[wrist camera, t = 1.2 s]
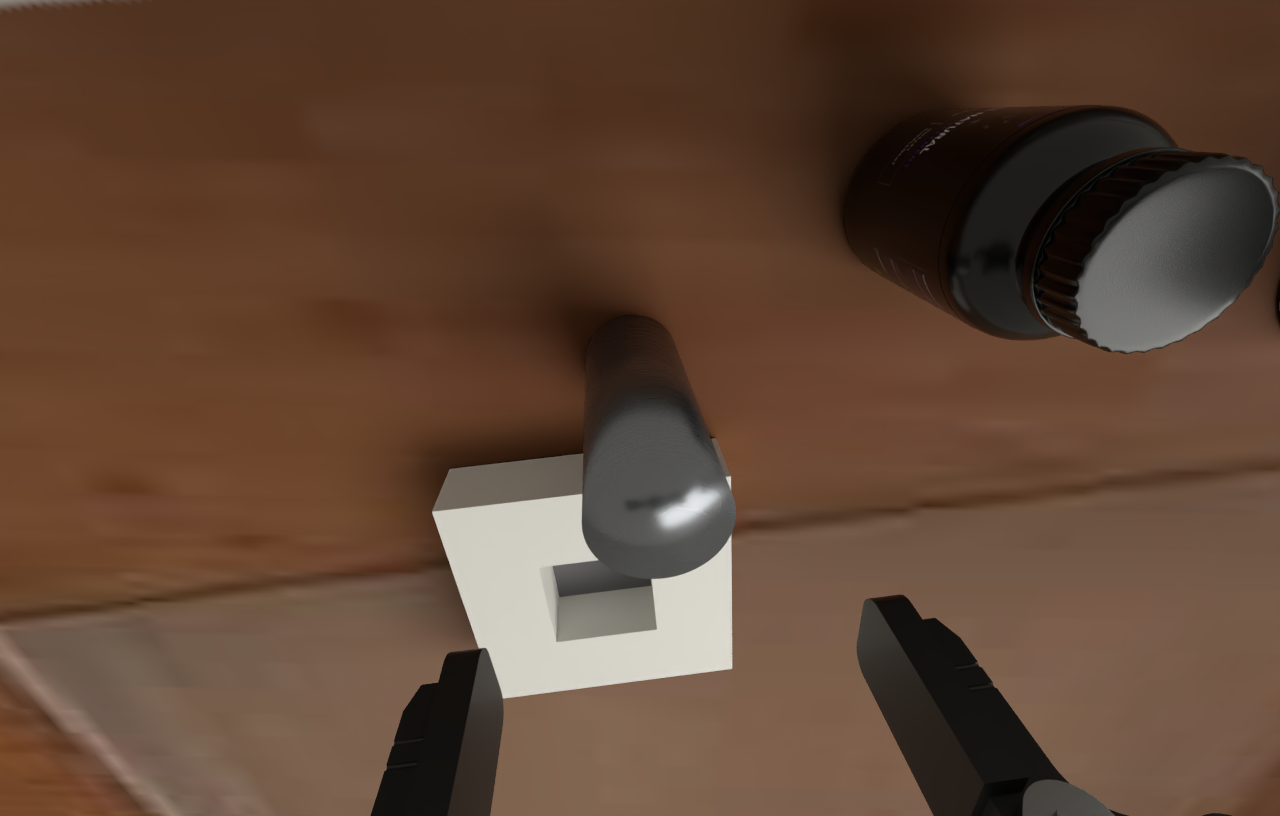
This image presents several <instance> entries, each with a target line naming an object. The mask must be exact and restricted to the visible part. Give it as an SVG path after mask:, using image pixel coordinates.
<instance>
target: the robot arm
mask: <svg viewBox="0 0 1280 816" xmlns="http://www.w3.org/2000/svg"><path fill="white" fill-rule="evenodd" d="M1279 309H1280V303H1279ZM857 656H858V661H859V665H860V668H861V671H862V673H863V676H864V678H865V680H866V682H867V684H868V686H869V688H870V690H871V692H872V694H873V696H874V698H875V700H876V702H877V704H878V706H879V708H880V710H881V712H882V714H883V716H884V718H885V720H886V722H887V724H888V726H889V728H890V730H891V732H892V734H893V736H894V738H895V740H896V742H897V744H898V746H899V748H900V750H901V752H902V754H903V756H904V758H905V759H906V761H907V763H908V765H909V767H910V769H911V771H912V773H913V775H914V777H915V779H916V781H917V783H918V785H919V787H920V789H921V791H922V793H923V795H924V797H925V799H926V801H927V803H928V805H929V807H930V809H931V811H932V813H933V815H934V816H1127V815H1124V814H1120V813H1117V812H1115V811H1112V810H1109V809H1108V808H1107V807H1106V806H1105V805H1104V804H1103V803H1101V802H1100V801H1099V800H1097V799H1096V798H1095V797H1094V796H1092V795H1091V794H1089V793H1087V792H1086V791H1084V790H1082V789H1080V788H1078V787H1076V786H1074V785H1072V784H1070V783H1068V782H1067V781H1066V780H1065V779H1064V777H1063V776H1062V775H1061V774H1060V773H1059V772H1058V771H1057V770H1056V768H1055V767H1054V766H1053V765H1052V763H1051V762H1050V760H1049V759H1048V758H1047V756H1046V755H1045V754H1044V752H1043V751H1042V749H1041V748H1040V747H1039V745H1038V744H1037V743H1036V741H1035V740H1034V738H1033V737H1032V736H1031V734H1030V733H1029V732H1028V730H1027V729H1026V727H1025V726H1024V725H1023V723H1022V722H1021V721H1020V719H1019V718H1018V716H1017V715H1016V714H1015V712H1014V711H1013V710H1012V708H1011V707H1010V705H1009V704H1008V703H1007V701H1006V700H1005V699H1004V697H1003V696H1002V694H1001V693H1000V692H999V690H998V689H997V688H994V686H993V682H992V681H991V679H990V678H989V677H988V675H987V674H986V673H985V671H984V670H983V668H982V667H979V665H978V662H977V660H976V659H975V657H974V656H973V655H972V653H971V652H970V651H969V649H968V648H967V646H966V645H965V644H964V642H963V641H962V640H961V638H960V637H959V636H957V635H956V634H955V633H954V632H952V631H951V630H950V629H948V628H947V627H946V626H945V625H943V624H942V623H941V622H940V621H938V620H937V619H936V618H931V619H924V620H922V618H921V617H920V615H919V614H918V612H917V611H916V609H915V608H914V606H913V605H912V603H911V602H910V601H909V600H908V599H907V597H905V596H904V595H893V596H886V597H878V598H870V599H866V600H865V602H864V605H863V611H862V617H861V623H860V629H859V635H858V641H857ZM502 726H503V697H502V692H501V689H500V686H499V683H498V679H497V676H496V673H495V670H494V667H493V664H492V661H491V658H490V655H489V652H488V650H487V649H486V648H479V649H471V650H464V651H456V652H450V653H448V654H447V656H446V658H445V660H444V663H443V667H442V671H441V675H440V678H439V682H438V683H432V684H425V685H421V686H420V688H419V689H418V691H417V692H416V694H415V695H414V697H413V698H412V699H411V701H410V702H409V704H408V705H407V707H406V708H405V710H404V711H403V714H402V717H401V720H400V723H399V727H398V730H397V733H396V736H395V739H394V746H392V749H391V752H390V755H389V759H388V762H387V770H386V771H384V775H383V778H382V781H381V784H380V787H379V791H378V794H377V797H376V800H375V803H374V807H373V810H372V813H371V816H490V812H491V805H492V798H493V791H494V784H495V776H496V769H497V762H498V755H499V748H500V741H501V734H502ZM1203 816H1231V815H1226V814H1219V813H1211V814H1206V815H1203Z"/></svg>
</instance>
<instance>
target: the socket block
mask: <svg viewBox="0 0 1280 816" xmlns="http://www.w3.org/2000/svg"><path fill="white" fill-rule="evenodd" d="M711 440H712V443H713V445H714V448H715V450H716V453H717V456H718V458H719V461H720V463H721V466H722V469H723V471H724V474H725V477H726V479H727V482H728V484H729V487H730V490H731V476H730V473H729V470H728V468H727V465H726V463H725V460H724V458H723V455H722V453H721V450H720V448H719V445H718V443H717V440H716V438H711ZM582 487H583V453H582V454H574V455H565V456H557V457H548V458H540V459H531V460H522V461H514V462H505V463H497V464H488V465H479V466H471V467H462V468H454V469H449V472H448V474H447V477H446V479H445V481H444V484H443V486H442V489H441V491H440V493H439V496H438V498H437V501H436V503H435V506H434V508H433V510H432V514H433V517H434V519H435V522H436V525H437V528H438V531H439V534H440V537H441V540H442V543H443V546H444V548H445V551H446V554H447V557H448V560H449V563H450V566H451V569H452V572H453V575H454V578H455V580H456V583H457V586H458V589H459V592H460V595H461V598H462V601H463V604H464V607H465V610H466V612H467V615H468V618H469V621H470V624H471V627H472V630H473V633H474V636H475V639H476V642H477V644H478V647H479V648H486V649H487V650H488V652H489V655H490V658H491V661H492V664H493V667H494V670H495V673H496V676H497V679H498V683H499V686H500V689H501V692H502V697H503V698H510V697H518V696H526V695H533V694H541V693H549V692H556V691H564V690H572V689H580V688H587V687H595V686H603V685H610V684H618V683H626V682H634V681H641V680H649V679H657V678H664V677H672V676H680V675H688V674H695V673H703V672H711V671H718V670H726V669H732V574H731V536H730V538H729V539H728V541H727V543H726V544H725V545H724V547H723V548H722V549H721V550H720V551H719V552H718V553H717V554H716V555H715V556H714V557H713V558H712V559H711V560H709V561H708V562H707V563H705V564H703V565H702V566H700V567H698V568H696V569H694V570H692V571H690V572H687V573H685V574H682V575H678V576H674V577H669V578H662V579H643V578H636V577H631V576H627V575H624V574H621V573H619V572H616V571H614V570H612V569H610V568H609V567H607V566H606V565H604V564H603V563H602V562H601V561H599V560H598V559H597V558H596V557H595V556H594V555H593V553H592V552H591V551H590V549H589V548H588V546H587V544H586V541H585V539H584V536H583V532H582Z"/></svg>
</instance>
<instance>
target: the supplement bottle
mask: <svg viewBox="0 0 1280 816" xmlns="http://www.w3.org/2000/svg"><path fill="white" fill-rule="evenodd" d="M1278 196H1279V192H1278V191H1277V190H1276V189H1275V188H1273V178H1272V177H1270V176H1267V175H1265V173H1264V170H1263V167H1262V166H1260V165H1256V164H1251V162H1250V161H1249V160H1248V159H1247V158H1244V157H1238V156H1230V155H1227V154H1223V153H1210V152H1193V151H1190V150H1186V149H1181V148H1178V146H1177V144H1176V143H1175V141H1174V140H1173V138H1172V137H1171V136H1170V135H1169V133H1168V132H1167V131H1166V130H1165V129H1164V128H1163V127H1162V126H1160V125H1159V124H1158V123H1157V122H1156V121H1154V120H1153V119H1151V118H1149V117H1148V116H1146V115H1144V114H1142V113H1139V112H1137V111H1134V110H1131V109H1127V108H1123V107H1116V106H1102V105H1075V106H1039V107H1003V108H968V109H947V110H937V111H931V112H927V113H923V114H920V115H917V116H914V117H912V118H909V119H907V120H905V121H904V122H902V123H900V124H898V125H897V126H895V127H894V128H892V129H891V130H890V131H888V132H887V133H886V134H885V135H883V136H882V137H881V138H880V139H879V140H878V141H877V142H876V143H875V144H874V145H873V146H872V148H871V149H870V150H869V151H868V152H867V154H866V155H865V156H864V158H863V159H862V161H861V163H860V164H859V166H858V168H857V170H856V171H855V174H854V176H853V178H852V180H851V183H850V186H849V189H848V193H847V197H846V203H845V228H846V232H847V236H848V239H849V242H850V244H851V247H852V249H853V250H854V252H855V254H856V255H857V257H858V258H859V259H860V260H861V261H862V262H863V263H864V264H865V265H866V266H867V267H869V268H870V269H871V270H872V271H874V272H876V273H877V274H879V275H881V276H882V277H884V278H886V279H887V280H889V281H891V282H893V283H894V284H896V285H898V286H900V287H902V288H903V289H905V290H907V291H909V292H911V293H912V294H914V295H916V296H918V297H919V298H921V299H923V300H925V301H927V302H928V303H930V304H932V305H934V306H935V307H937V308H939V309H941V310H943V311H944V312H946V313H948V314H950V315H952V316H953V317H955V318H957V319H959V320H961V321H962V322H964V323H966V324H968V325H969V326H971V327H973V328H975V329H978V330H980V331H982V332H984V333H986V334H989V335H991V336H995V337H998V338H1003V339H1009V340H1039V339H1046V338H1051V337H1056V336H1060V335H1063V336H1066V337H1069V338H1073V339H1078V340H1080V341H1082V342H1084V343H1087V344H1089V345H1091V346H1095V347H1097V348H1100V349H1102V350H1104V351H1107V352H1120V353H1123V354H1130V353H1133V352H1141V353H1145V352H1148V351H1150V350H1152V349H1161V348H1164V347H1166V346H1168V345H1169V344H1171V343H1174V342H1179V341H1182V340H1183V339H1184V338H1186V337H1187V336H1188V335H1190V334H1192V333H1195V332H1198V331H1200V330H1201V329H1202V328H1203V327H1204V326H1205V325H1206V324H1208V323H1209V322H1211V321H1213V320H1215V319H1216V318H1218V317H1219V316H1220V315H1221V313H1222V312H1223V311H1224V310H1225V309H1226V308H1227V307H1229V306H1230V305H1232V304H1233V303H1234V302H1235V301H1236V300H1237V298H1238V296H1239V295H1240V293H1241V292H1243V291H1244V290H1245V289H1246V288H1247V287H1248V286H1249V285H1250V283H1251V281H1252V279H1253V277H1254V275H1255V274H1256V273H1257V272H1258V271H1259V270H1260V269H1261V268H1262V266H1263V263H1264V260H1265V257H1266V255H1267V254H1268V253H1269V251H1270V250H1271V248H1272V245H1273V238H1274V236H1275V234H1276V232H1277V230H1278V222H1277V219H1278V216H1279V214H1280V206H1279V205H1278V203H1277V202H1278Z"/></svg>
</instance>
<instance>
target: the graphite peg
mask: <svg viewBox="0 0 1280 816" xmlns="http://www.w3.org/2000/svg"><path fill="white" fill-rule="evenodd" d="M735 519H736V507H735V502H734V498H733V495H732V492H731V490H730V487H729V484H728V482H727V479H726V477H725V474H724V471H723V469H722V466H721V463H720V461H719V458H718V456H717V453H716V450H715V448H714V445H713V443H712V440H711V437H710V435H709V432H708V429H707V427H706V424H705V422H704V419H703V416H702V414H701V411H700V408H699V406H698V403H697V401H696V398H695V395H694V393H693V390H692V388H691V385H690V382H689V380H688V377H687V374H686V372H685V369H684V367H683V364H682V361H681V359H680V356H679V354H678V351H677V348H676V346H675V343H674V341H673V339H672V337H671V335H670V334H669V332H668V331H667V330H666V329H665V328H664V327H663V326H662V325H661V324H659V323H658V322H656V321H654V320H652V319H650V318H647V317H644V316H639V315H626V316H621V317H617V318H614V319H612V320H610V321H608V322H607V323H605V324H604V325H602V326H601V327H600V328H599V329H598V330H597V331H596V332H595V333H594V335H593V336H592V338H591V340H590V342H589V344H588V347H587V351H586V366H585V406H584V446H583V487H582V532H583V536H584V539H585V541H586V544H587V546H588V548H589V549H590V551H591V552H592V553H593V555H594V556H595V557H596V558H597V559H598V560H599V561H601V562H602V563H603V564H604V565H606V566H607V567H609V568H610V569H612V570H614V571H616V572H619V573H621V574H624V575H627V576H631V577H636V578H643V579H662V578H669V577H674V576H678V575H682V574H685V573H687V572H690V571H692V570H694V569H696V568H698V567H700V566H702V565H703V564H705V563H707V562H708V561H709V560H711V559H712V558H713V557H714V556H715V555H716V554H717V553H718V552H719V551H720V550H721V549H722V548H723V547H724V545H725V544H726V543H727V541H728V539H729V538H730V536H731V533H732V531H733V528H734V524H735Z"/></svg>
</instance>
